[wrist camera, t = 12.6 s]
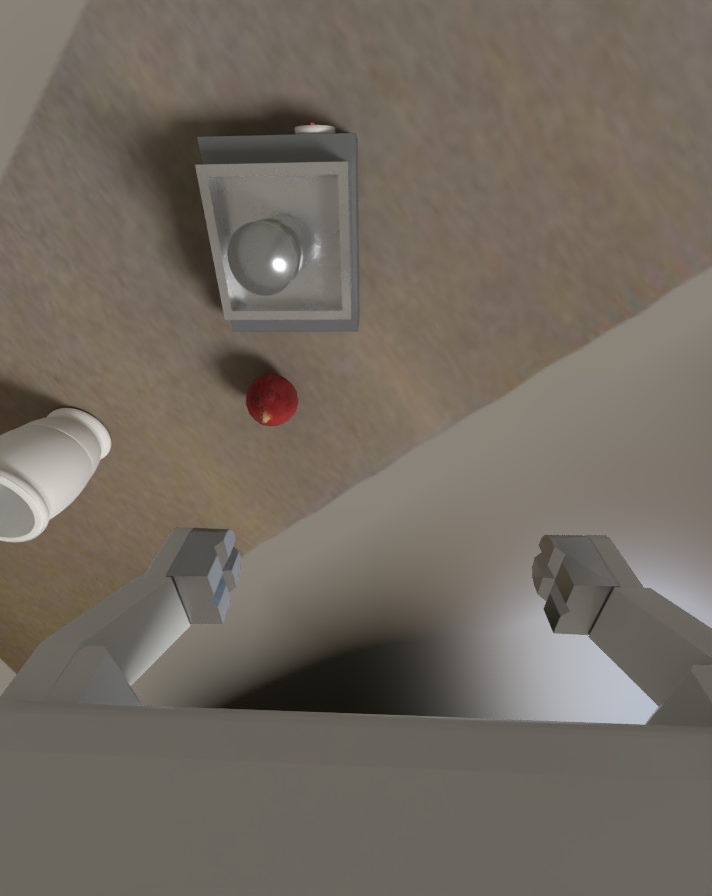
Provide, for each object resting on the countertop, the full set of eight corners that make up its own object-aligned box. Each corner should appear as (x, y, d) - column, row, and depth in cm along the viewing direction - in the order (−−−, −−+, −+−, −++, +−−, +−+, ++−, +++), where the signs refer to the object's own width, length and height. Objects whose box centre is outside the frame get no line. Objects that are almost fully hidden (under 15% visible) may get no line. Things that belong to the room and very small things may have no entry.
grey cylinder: (309, 214, 34) (291, 221, 27) (313, 274, 37) (297, 295, 29) (254, 215, 35) (221, 222, 27) (262, 274, 37) (234, 296, 30)
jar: (70, 471, 57) (-15, 549, 45) (21, 408, 52) (-91, 478, 39) (135, 457, 56) (64, 535, 43) (91, 391, 50) (-4, 458, 38)
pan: (349, 163, 33) (347, 161, 31) (352, 311, 39) (351, 319, 37) (207, 166, 33) (195, 164, 31) (233, 312, 40) (224, 319, 38)
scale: (357, 127, 35) (355, 121, 32) (359, 320, 44) (358, 331, 41) (211, 131, 35) (194, 125, 32) (243, 321, 45) (232, 331, 41)
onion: (245, 377, 48) (224, 407, 42) (284, 356, 47) (269, 384, 40) (273, 415, 51) (257, 449, 44) (311, 396, 49) (301, 428, 43)
